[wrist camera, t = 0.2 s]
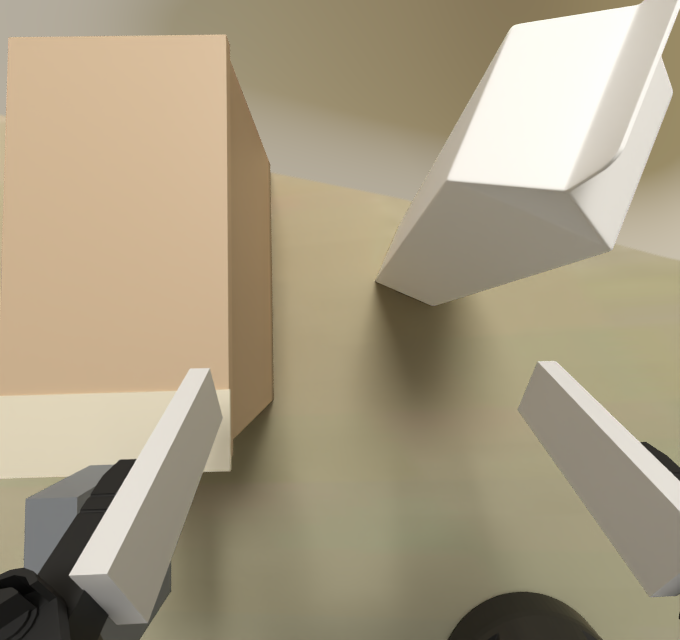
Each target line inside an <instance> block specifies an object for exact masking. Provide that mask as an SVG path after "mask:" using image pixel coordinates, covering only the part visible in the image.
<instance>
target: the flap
mask: <svg viewBox="0 0 680 640" xmlns="http://www.w3.org/2000/svg"><path fill="white" fill-rule="evenodd" d="M6 106H7V107H6V135H5V167H4V198H3V230H2V262H1V293H0V479H3V478H34V477H64V476H69V477H67V478H65V479H63V480H61V481H59V482H57V483H55V484H53V485H51V486H49V487H48V488H46V489H44V490H42V491H40V492H38V493H36V494H34V495H32V496H30V497H28V498H27V499H26V505H25V542H24V568H26V569H29V570H32V571H34V572H35V573H36V574H38V573H39V571H40V570H41V568H42V567H43V565H44V564H45V562H46V561H47V559H48V558H49V556H50V555H51V553H52V552H53V550H54V549H55V547H56V546H57V544H58V543H59V541H60V539H61V538H62V536H63V535H64V533H65V532H66V530H67V529H68V527H69V526H70V524H71V523H72V521H73V520H74V518H75V517H76V515H77V514H79V513H80V509H81V508H82V506H83V505H84V503H85V502H86V500H87V499H88V498H89V497H90V496H91V492H92V491H93V489H94V488H95V486H96V485H97V483H98V482H99V480H100V479H101V477H102V476H103V475H104V474H105V473H106V472H107V471H108V470H109V469H110V468H111V467H112V466H113V465H115V464H116V463H117V462H118V461H119V460H120V459H137V458H138V456H139V455H140V453H141V451H142V449H143V448H144V446H145V444H146V443H147V441H148V439H149V437H150V436H151V434H152V432H153V431H154V429H155V427H156V426H157V424H158V422H159V420H160V419H161V417H162V415H163V414H164V412H165V410H166V408H167V407H168V405H169V403H170V402H171V400H172V398H173V397H174V395H175V393H176V391H177V390H178V388H179V386H180V385H181V383H182V381H183V379H184V378H185V376H186V374H187V373H188V371H189V369H191V368H210V371H211V374H212V378H213V382H214V386H215V390H216V393H217V397H218V401H219V405H220V409H221V413H222V416H223V419H222V422H221V424H220V427H219V430H218V432H217V435H216V438H215V441H214V443H213V446H212V449H211V452H210V454H209V457H208V460H207V463H206V465H205V468H204V471H203V472H218V471H231V457H232V456H233V370H232V248H231V125H230V44H229V41H228V39H227V36H226V35H169V36H168V35H164V36H91V37H90V36H87V37H13V38H11V37H9V41H8V72H7V105H6ZM170 592H171V561H170V564H169V567H168V569H167V572H166V575H165V578H164V580H163V583H162V586H161V589H160V591H159V594H158V597H157V600H156V602H155V605H154V608H153V610H152V613H151V616H150V619H149V621H148V623H141V624H121V625H116V624H115V623H114V622H113V621H112V620H111V619H110V617H109V616H108V618H107V620H106V622H105V624H104V627H103V629H102V631H101V633H100V634H101V636H102V638H103V640H140V638H141V637H142V635H143V634H144V632H145V630H146V629H147V627H148V626H149V624H150V623H151V621H152V620H153V618H154V617H155V615H156V613H157V612H158V610H159V609H160V607H161V606H162V604H163V603H164V601H165V600H166V598H167V597H168V595H169V593H170Z"/></svg>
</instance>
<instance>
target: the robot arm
mask: <svg viewBox="0 0 680 640" xmlns="http://www.w3.org/2000/svg"><path fill="white" fill-rule="evenodd" d="M518 411H519V413H520V414H521V416H522V417H523V418H524V420H525V421H526V423H527V424H528V426H529V427H530V428H531V430H532V431H533V433H534V434H535V435H536V437H537V438H538V440H539V441H540V443H541V444H542V445H543V447H544V448H545V450H546V451H547V452H548V454H549V455H550V457H551V458H552V460H553V461H554V462H555V464H556V465H557V467H558V468H559V469H560V471H561V472H562V474H563V475H564V477H565V478H566V479H567V481H568V482H569V484H570V485H571V486H572V488H573V489H574V491H575V492H576V494H577V495H578V496H579V498H580V499H581V501H582V502H583V503H584V505H585V506H586V508H587V509H588V511H589V512H590V513H591V515H592V516H593V518H594V519H595V520H596V522H597V523H598V525H599V526H600V528H601V529H602V530H603V532H604V533H605V535H606V536H607V537H608V539H609V540H610V542H611V543H612V545H613V546H614V547H615V549H616V550H617V552H618V553H619V554H620V556H621V557H622V559H623V560H624V562H625V563H626V564H627V566H628V567H629V569H630V570H631V571H632V573H633V574H634V576H635V577H636V579H637V580H638V581H639V583H640V584H641V586H642V587H643V588H644V590H645V591H646V593H647V594H648V596H649V597H663V596H677V595H679V594H680V467H679V466H677V465H676V464H675V463H674V462H673V461H672V460H671V459H670V458H669V457H668V456H667V455H665V454H664V453H662V452H660V451H659V450H657V449H656V448H654V447H653V446H651V445H650V444H648V443H647V442H639V441H638V440H637V439H636V438H635V437H634V436H633V435H632V434H631V433H630V432H629V431H628V430H627V429H625V428H624V427H623V426H622V425H621V424H620V423H619V422H618V421H617V420H616V419H615V418H614V417H613V416H612V415H611V414H610V413H609V412H608V411H607V410H606V409H605V408H604V407H603V406H602V405H601V404H600V403H599V402H598V401H597V400H596V399H595V398H593V397H592V396H591V395H590V394H589V393H588V392H587V391H586V390H585V389H584V388H583V387H582V386H581V385H580V384H579V383H578V382H577V381H576V380H575V379H574V378H573V377H572V376H571V375H570V374H569V373H568V372H567V371H566V370H565V369H564V368H563V367H561V366H560V365H559V364H558V363H557V362H556V361H537V364H536V366H535V369H534V371H533V373H532V376H531V378H530V381H529V383H528V385H527V388H526V390H525V393H524V395H523V398H522V400H521V402H520V405H519V407H518ZM222 419H223V416H222V413H221V409H220V405H219V401H218V397H217V393H216V390H215V386H214V382H213V378H212V374H211V371H210V368H191V369H189V371H188V373H187V374H186V376H185V378H184V379H183V381H182V383H181V385H180V386H179V388H178V390H177V391H176V393H175V395H174V397H173V398H172V400H171V402H170V403H169V405H168V407H167V408H166V410H165V412H164V414H163V415H162V417H161V419H160V420H159V422H158V424H157V426H156V427H155V429H154V431H153V432H152V434H151V436H150V437H149V439H148V441H147V443H146V444H145V446H144V448H143V449H142V451H141V453H140V455H139V456H138V458H137V459H120V460H119V461H118V462H117V463H116V464H115V465H113V466H112V467H111V468H110V469H109V470H108V471H107V472H106V473H105V474H104V475H103V476H102V477H101V479H100V480H99V482H98V483H97V485H96V486H95V488H94V489H93V491H92V492H91V496H90V497H89V498H88V499H87V500H86V502H85V503H84V505H83V506H82V508H81V509H80V513H79V514H77V515H76V517H75V518H74V520H73V521H72V523H71V524H70V526H69V527H68V529H67V530H66V532H65V533H64V535H63V536H62V538H61V539H60V541H59V543H58V544H57V546H56V547H55V549H54V550H53V552H52V553H51V555H50V556H49V558H48V559H47V561H46V562H45V564H44V565H43V567H42V568H41V570H40V571H39V573H38V574H36V573H35V572H34V571H32V570H29V569H26V568H19V569H13V570H9V571H7V572H5V573H2V574H0V640H103V638H102V636H101V634H100V633H101V631H102V629H103V627H104V624H105V622H106V620H107V618H108V616H109V617H110V619H111V620H112V621H113V622H114V623H115V624H116V625H121V624H141V623H148V621H149V619H150V616H151V613H152V610H153V608H154V605H155V602H156V600H157V597H158V594H159V591H160V589H161V586H162V583H163V580H164V578H165V575H166V572H167V569H168V567H169V564H170V561H171V558H172V556H173V553H174V550H175V548H176V545H177V542H178V539H179V537H180V534H181V531H182V528H183V526H184V523H185V520H186V517H187V515H188V512H189V509H190V506H191V504H192V501H193V498H194V495H195V493H196V490H197V487H198V485H199V482H200V479H201V476H202V474H203V471H204V468H205V465H206V463H207V460H208V457H209V454H210V452H211V449H212V446H213V443H214V441H215V438H216V435H217V432H218V430H219V427H220V424H221V422H222ZM679 619H680V614H679ZM449 640H602V638H601V637H600V636H599V635H598V634H597V633H596V632H595V630H594V629H593V628H592V627H591V626H590V625H589V624H588V622H587V621H586V620H585V619H584V618H583V617H582V616H581V615H580V614H579V613H577V612H576V611H575V610H574V609H572V608H571V607H569V606H568V605H566V604H565V603H563V602H561V601H559V600H557V599H554V598H552V597H549V596H546V595H542V594H537V593H529V592H517V593H509V594H504V595H501V596H497V597H495V598H492V599H490V600H488V601H486V602H484V603H482V604H481V605H479V606H477V607H476V608H475V609H473V610H472V611H471V612H470V613H469V614H467V615H466V616H465V617H464V618H463V620H462V621H461V622H460V623H459V624H458V626H457V627H456V628H455V630H454V631H453V633H452V635H451V636H450V638H449Z"/></svg>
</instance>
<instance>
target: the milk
mask: <svg viewBox="0 0 680 640" xmlns="http://www.w3.org/2000/svg"><path fill="white" fill-rule="evenodd" d="M679 9H680V0H644V1H643V2H642V3H641V4H639V5H635V6H629V7H623V8H616V9H611V10H604V11H598V12H591V13H585V14H579V15H572V16H567V17H560V18H554V19H548V20H541V21H535V22H529V23H522V24H517V25H514V26H513V27H511V29H510V30H509V32H508V34H507V35H506V37H505V39H504V40H503V42H502V44H501V46H500V48H499V49H498V51H497V53H496V55H495V57H494V58H493V60H492V62H491V64H490V65H489V67H488V69H487V71H486V72H485V74H484V76H483V78H482V79H481V81H480V83H479V85H478V87H477V88H476V90H475V92H474V93H473V95H472V97H471V99H470V100H469V102H468V104H467V106H466V108H465V109H464V111H463V113H462V115H461V116H460V118H459V120H458V122H457V124H456V125H455V127H454V129H453V131H452V132H451V134H450V136H449V138H448V139H447V141H446V143H445V145H444V147H443V148H442V150H441V152H440V154H439V155H438V157H437V159H436V161H435V162H434V164H433V166H432V168H431V170H430V171H429V173H428V175H427V177H426V178H425V180H424V182H423V184H422V185H421V187H420V189H419V191H418V192H417V194H416V196H415V198H414V199H413V201H412V203H411V205H410V207H409V208H408V210H407V212H406V214H405V215H404V217H403V219H402V221H401V222H400V224H399V226H398V229H397V231H396V233H395V236H394V238H393V240H392V243H391V245H390V247H389V250H388V252H387V254H386V257H385V259H384V261H383V264H382V266H381V268H380V270H379V273H378V275H377V277H376V280H375V281H376V282H378V283H380V284H382V285H385V286H387V287H389V288H392V289H394V290H396V291H398V292H401V293H403V294H405V295H408V296H410V297H412V298H415V299H417V300H419V301H422V302H424V303H426V304H429V305H431V306H436V305H439V304H442V303H446V302H449V301H452V300H455V299H458V298H462V297H465V296H468V295H471V294H474V293H478V292H481V291H484V290H487V289H490V288H494V287H497V286H500V285H503V284H507V283H510V282H513V281H516V280H519V279H523V278H526V277H529V276H532V275H535V274H539V273H542V272H545V271H548V270H551V269H555V268H558V267H561V266H564V265H567V264H571V263H574V262H577V261H580V260H584V259H587V258H590V257H593V256H596V255H600V254H603V253H606V252H609V251H611V250H612V249H613V247H614V245H615V242H616V239H617V237H618V234H619V232H620V229H621V227H622V224H623V221H624V219H625V216H626V213H627V211H628V209H629V206H630V203H631V201H632V198H633V196H634V193H635V190H636V188H637V185H638V183H639V180H640V177H641V175H642V172H643V170H644V167H645V165H646V162H647V159H648V157H649V154H650V152H651V149H652V146H653V144H654V141H655V139H656V136H657V134H658V131H659V128H660V126H661V123H662V121H663V118H664V116H665V113H666V110H667V108H668V105H669V103H670V100H671V97H672V94H673V91H672V87H671V84H670V81H669V78H668V75H667V72H666V69H665V66H664V63H663V60H662V57H661V55H662V52H663V50H664V47H665V44H666V42H667V39H668V37H669V34H670V31H671V29H672V27H673V24H674V22H675V19H676V16H677V14H678V11H679Z"/></svg>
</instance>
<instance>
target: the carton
mask: <svg viewBox="0 0 680 640" xmlns="http://www.w3.org/2000/svg"><path fill="white" fill-rule="evenodd" d="M230 125H231V248H232V370H233V439H234V438H235V437H236V436H237V435H238V434H239V433H240V432H241V431H242V430H243V429H244V428H245V427H246V426H247V425H248V424H249V423H250V422H251V421H252V420H253V419H254V418H255V417H256V416H257V415H258V414H259V413H260V412H261V411H262V410H263V409H264V408H265V407H266V406H267V405H268V404H269V403H270V402H271V401H272V400H273V399H274V393H273V327H272V260H271V194H270V163H269V161H268V158H267V155H266V152H265V150H264V147H263V145H262V142H261V139H260V137H259V134H258V131H257V129H256V126H255V124H254V121H253V119H252V116H251V113H250V111H249V108H248V105H247V103H246V100H245V98H244V95H243V92H242V90H241V87H240V85H239V82H238V79H237V77H236V74H235V72H234V69H233V66H232V64H231V61H230Z"/></svg>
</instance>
